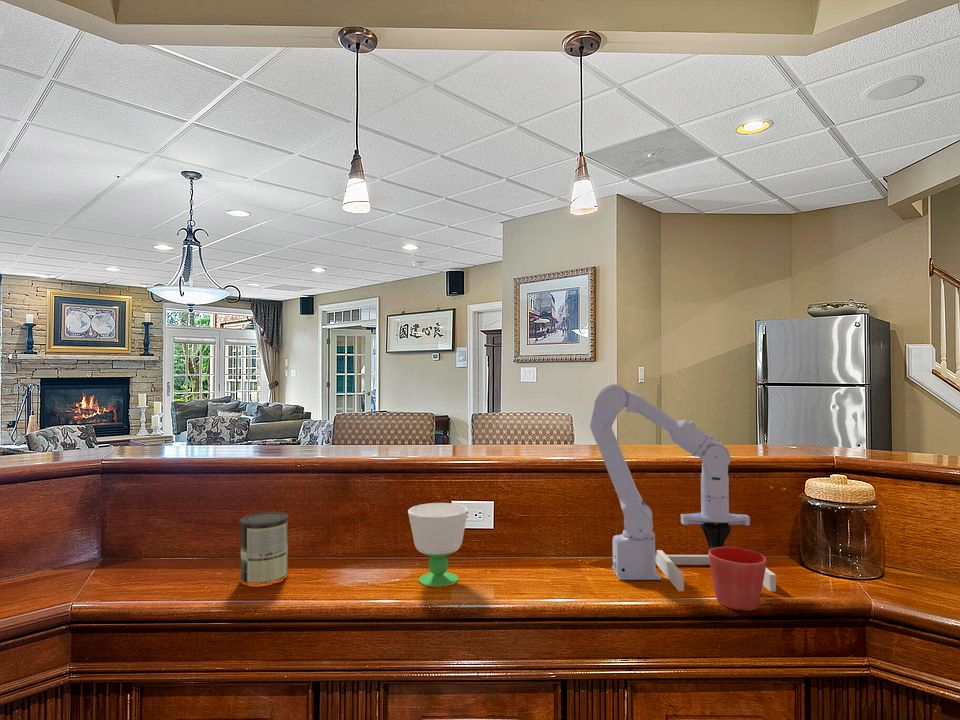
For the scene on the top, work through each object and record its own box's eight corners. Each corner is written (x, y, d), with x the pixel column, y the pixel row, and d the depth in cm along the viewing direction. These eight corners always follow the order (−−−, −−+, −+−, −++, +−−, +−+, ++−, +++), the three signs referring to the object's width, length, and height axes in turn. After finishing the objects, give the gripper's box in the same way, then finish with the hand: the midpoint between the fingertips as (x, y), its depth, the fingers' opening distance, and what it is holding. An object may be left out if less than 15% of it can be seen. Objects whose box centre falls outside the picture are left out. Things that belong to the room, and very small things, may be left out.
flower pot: (763, 596, 117) (762, 548, 118) (771, 617, 107) (770, 565, 107) (708, 589, 121) (707, 544, 121) (710, 610, 111) (709, 560, 111)
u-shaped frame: (678, 591, 120) (678, 574, 120) (655, 563, 138) (655, 548, 138) (776, 591, 119) (775, 574, 120) (740, 563, 137) (740, 548, 137)
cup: (403, 573, 133) (402, 505, 133) (459, 566, 137) (458, 500, 137) (414, 595, 120) (414, 519, 120) (476, 586, 124) (475, 514, 124)
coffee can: (229, 583, 127) (229, 520, 127) (265, 568, 136) (264, 510, 137) (263, 590, 123) (263, 525, 123) (297, 575, 132) (297, 514, 132)
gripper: (740, 491, 130) (740, 551, 130) (676, 491, 131) (676, 550, 130) (753, 498, 123) (754, 561, 123) (686, 498, 123) (686, 561, 123)
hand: (715, 556), depth 126 cm, fingers closed
